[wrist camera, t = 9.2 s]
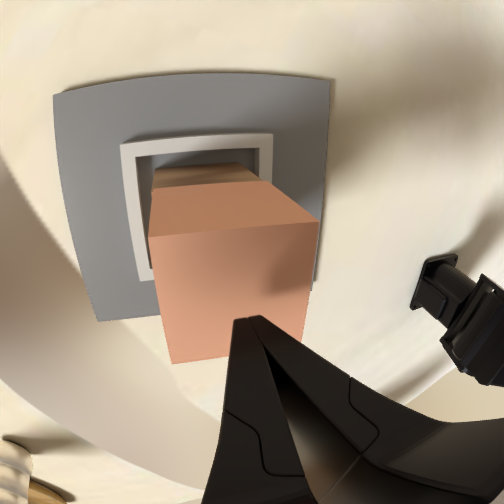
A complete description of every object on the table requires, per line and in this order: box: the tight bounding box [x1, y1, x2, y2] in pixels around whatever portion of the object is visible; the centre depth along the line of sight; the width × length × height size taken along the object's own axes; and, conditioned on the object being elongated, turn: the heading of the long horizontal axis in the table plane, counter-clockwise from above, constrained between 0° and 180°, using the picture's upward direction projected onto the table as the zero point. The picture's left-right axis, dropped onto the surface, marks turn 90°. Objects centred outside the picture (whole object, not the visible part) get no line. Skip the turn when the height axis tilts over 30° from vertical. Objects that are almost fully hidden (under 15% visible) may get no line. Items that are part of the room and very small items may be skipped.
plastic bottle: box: [0, 440, 33, 504], centre depth 17 cm, size 6×7×20 cm
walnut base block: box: [151, 162, 263, 195], centre depth 16 cm, size 5×5×5 cm
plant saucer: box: [28, 480, 67, 504], centre depth 32 cm, size 24×24×3 cm
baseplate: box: [53, 73, 330, 322], centre depth 18 cm, size 17×16×2 cm
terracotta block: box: [148, 181, 320, 364], centre depth 11 cm, size 5×5×5 cm
